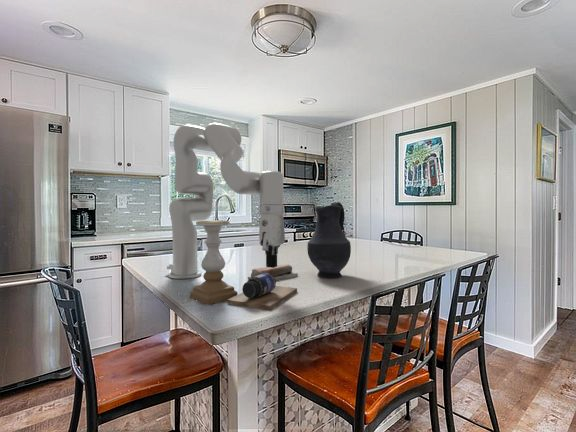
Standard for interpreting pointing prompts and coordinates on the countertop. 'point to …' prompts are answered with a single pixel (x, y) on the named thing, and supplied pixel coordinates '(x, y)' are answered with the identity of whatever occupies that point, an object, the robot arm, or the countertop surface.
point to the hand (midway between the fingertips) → (271, 266)
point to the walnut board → (264, 298)
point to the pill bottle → (259, 285)
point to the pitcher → (329, 242)
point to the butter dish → (275, 272)
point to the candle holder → (213, 268)
